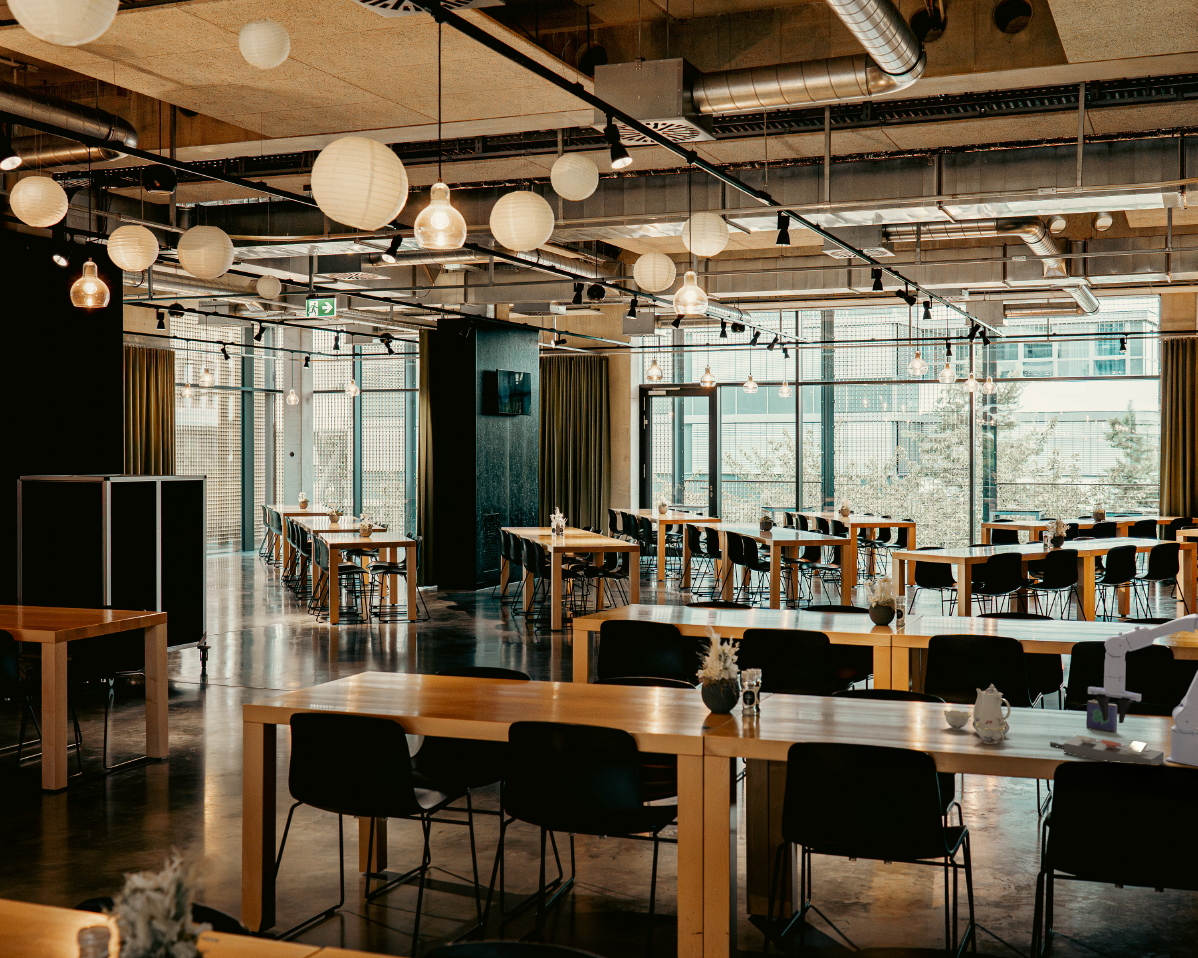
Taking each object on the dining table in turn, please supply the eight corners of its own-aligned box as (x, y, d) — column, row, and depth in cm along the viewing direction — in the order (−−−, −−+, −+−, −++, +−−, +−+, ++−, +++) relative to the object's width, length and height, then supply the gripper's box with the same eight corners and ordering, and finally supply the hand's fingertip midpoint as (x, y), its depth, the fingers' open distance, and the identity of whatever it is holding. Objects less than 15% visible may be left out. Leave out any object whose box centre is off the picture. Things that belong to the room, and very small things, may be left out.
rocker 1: (1095, 744, 321) (1096, 738, 321) (1089, 742, 316) (1089, 737, 317) (1082, 741, 323) (1083, 736, 323) (1076, 740, 319) (1077, 734, 319)
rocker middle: (1120, 748, 316) (1121, 743, 316) (1114, 747, 312) (1114, 741, 312) (1107, 746, 318) (1108, 740, 319) (1101, 744, 314) (1101, 739, 314)
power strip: (1163, 762, 313) (1163, 751, 313) (1151, 769, 304) (1151, 758, 304) (1057, 742, 333) (1058, 731, 333) (1043, 749, 324) (1043, 738, 324)
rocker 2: (1146, 748, 312) (1146, 742, 311) (1140, 756, 307) (1140, 751, 307) (1133, 745, 314) (1133, 740, 314) (1127, 754, 310) (1126, 749, 309)
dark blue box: (1117, 731, 349) (1118, 698, 349) (1115, 733, 347) (1116, 700, 347) (1087, 726, 355) (1088, 694, 355) (1084, 728, 353) (1085, 695, 353)
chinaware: (933, 731, 351) (930, 681, 350) (975, 723, 356) (972, 673, 356) (992, 753, 324) (989, 699, 324) (1036, 744, 330) (1033, 690, 329)
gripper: (1144, 677, 320) (1143, 723, 320) (1093, 670, 330) (1092, 714, 330) (1137, 681, 315) (1136, 727, 315) (1086, 673, 325) (1084, 718, 325)
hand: (1113, 721), depth 322 cm, fingers open, 4 cm apart
